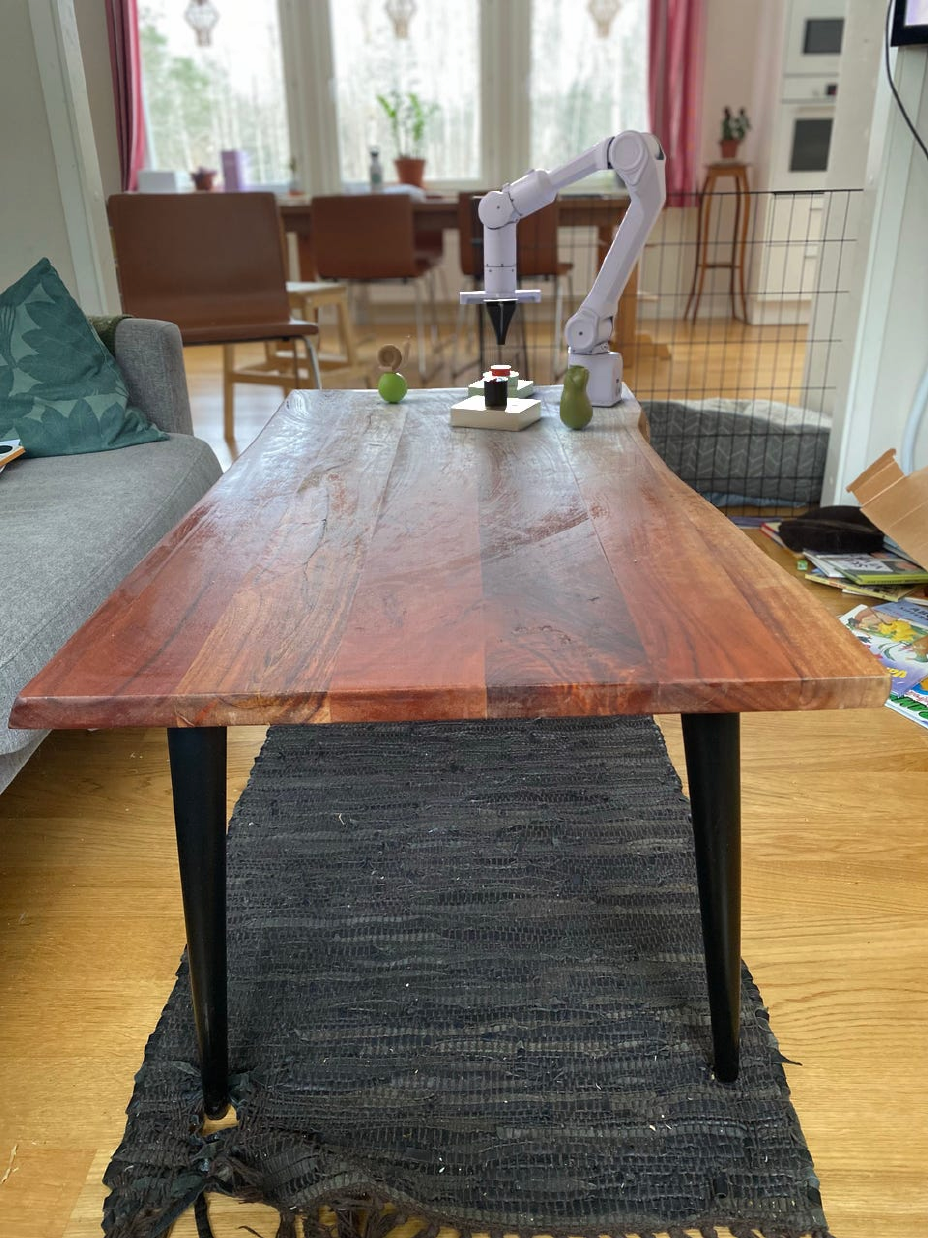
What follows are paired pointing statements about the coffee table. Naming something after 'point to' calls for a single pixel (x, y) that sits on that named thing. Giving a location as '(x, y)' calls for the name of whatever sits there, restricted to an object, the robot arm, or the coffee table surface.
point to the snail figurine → (393, 372)
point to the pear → (575, 398)
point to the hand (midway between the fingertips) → (500, 344)
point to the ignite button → (500, 370)
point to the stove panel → (495, 414)
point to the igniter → (514, 387)
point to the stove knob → (495, 391)
